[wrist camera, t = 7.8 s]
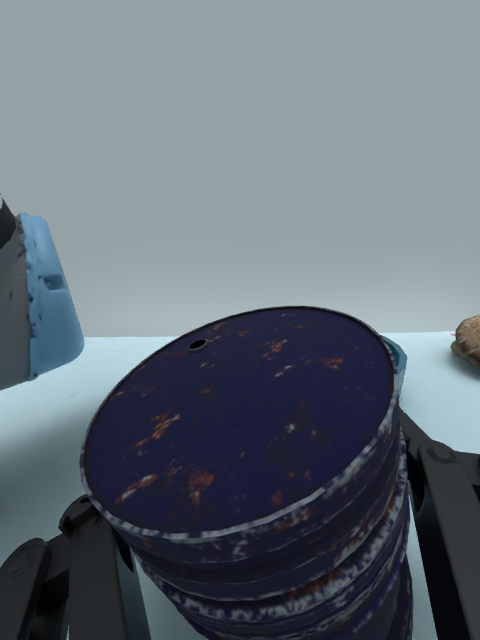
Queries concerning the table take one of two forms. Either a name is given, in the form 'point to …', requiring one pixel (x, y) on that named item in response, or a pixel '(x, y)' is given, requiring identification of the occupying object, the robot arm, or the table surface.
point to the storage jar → (263, 477)
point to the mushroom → (468, 340)
